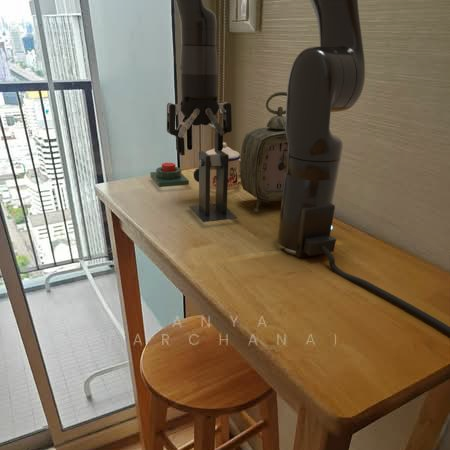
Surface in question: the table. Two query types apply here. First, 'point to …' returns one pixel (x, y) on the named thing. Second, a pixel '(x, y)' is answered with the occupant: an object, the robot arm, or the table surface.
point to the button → (168, 167)
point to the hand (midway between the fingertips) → (200, 153)
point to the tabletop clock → (265, 158)
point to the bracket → (220, 207)
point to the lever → (214, 165)
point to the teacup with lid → (232, 167)
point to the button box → (169, 178)
